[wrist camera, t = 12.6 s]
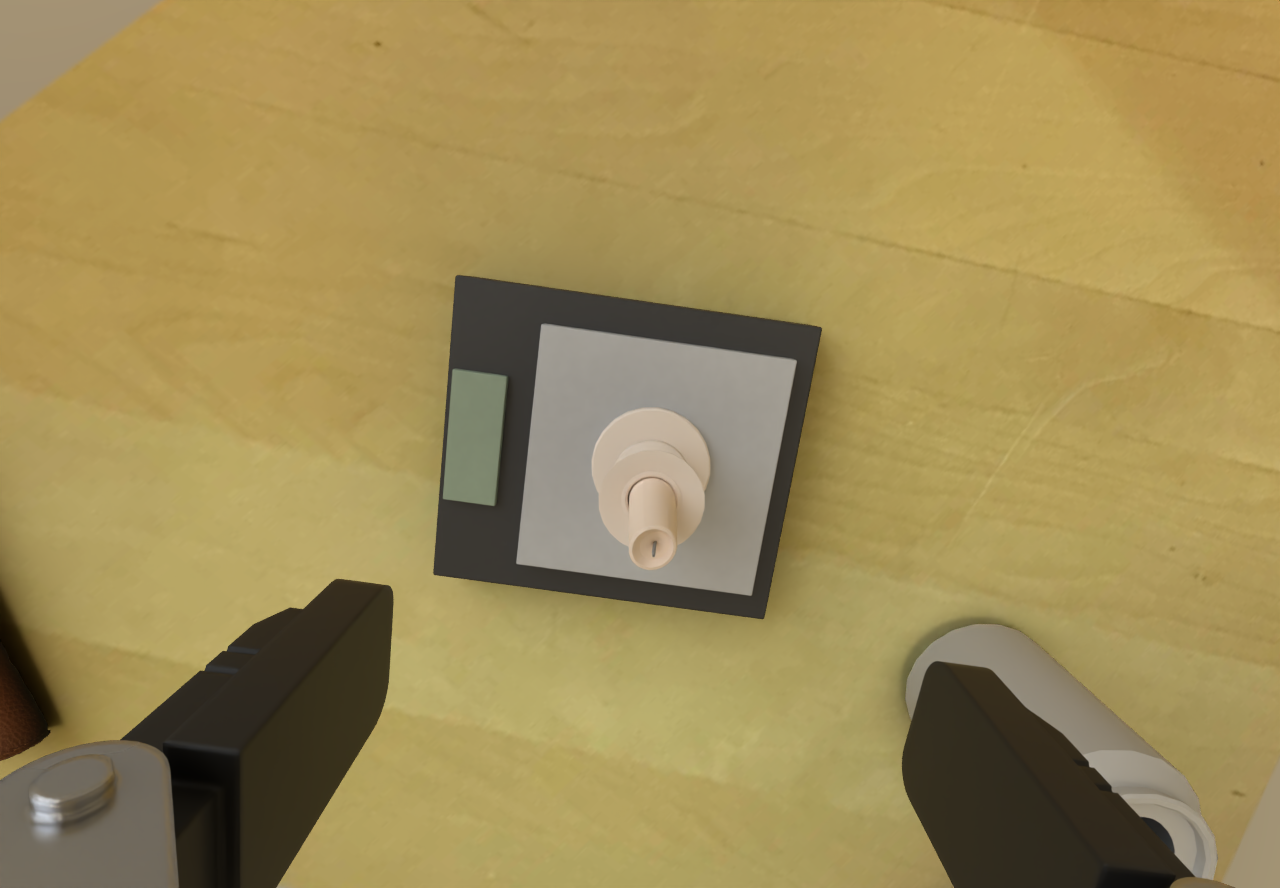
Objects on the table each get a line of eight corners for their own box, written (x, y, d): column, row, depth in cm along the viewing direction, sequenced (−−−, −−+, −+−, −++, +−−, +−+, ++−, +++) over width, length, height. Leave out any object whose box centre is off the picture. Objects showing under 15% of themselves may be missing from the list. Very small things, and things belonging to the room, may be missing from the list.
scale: (447, 555, 34) (427, 582, 30) (470, 276, 30) (449, 274, 27) (756, 597, 34) (767, 628, 31) (809, 324, 31) (827, 328, 28)
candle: (728, 432, 29) (772, 508, 19) (682, 536, 30) (701, 662, 20) (617, 388, 28) (600, 441, 18) (575, 495, 29) (536, 602, 19)
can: (1061, 708, 35) (1268, 915, 23) (929, 762, 36) (1064, 987, 24) (1013, 591, 34) (1208, 750, 22) (877, 650, 34) (994, 833, 23)
